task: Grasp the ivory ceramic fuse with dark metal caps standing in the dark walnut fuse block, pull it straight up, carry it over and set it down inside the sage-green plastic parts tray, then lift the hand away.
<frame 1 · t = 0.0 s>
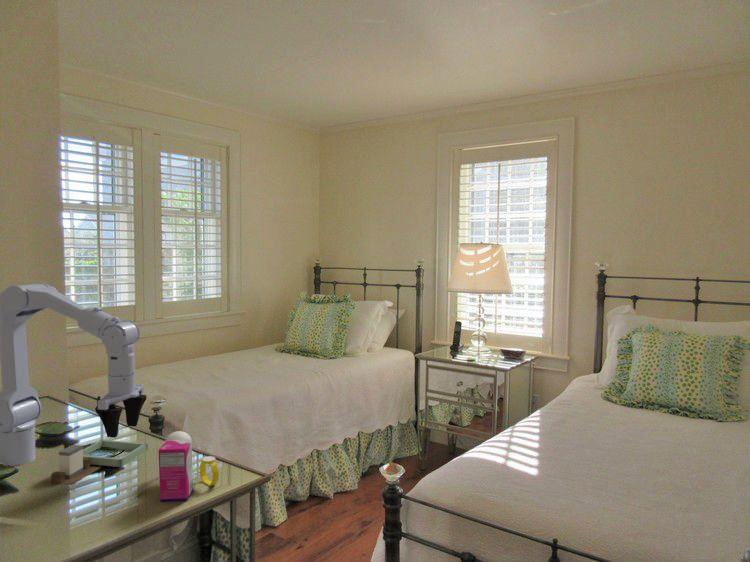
hand: (122, 431, 130), 10 cm above the table, tool pointing down, fingers open, 7 cm apart
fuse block: (71, 477, 128), on the table
fuse: (71, 474, 128), point 1 cm above the table, touching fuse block
lightbulb: (178, 479, 129), on the table
parts tray: (111, 459, 139), on the table
supplement box: (176, 496, 120), on the table
watch: (208, 484, 126), on the table
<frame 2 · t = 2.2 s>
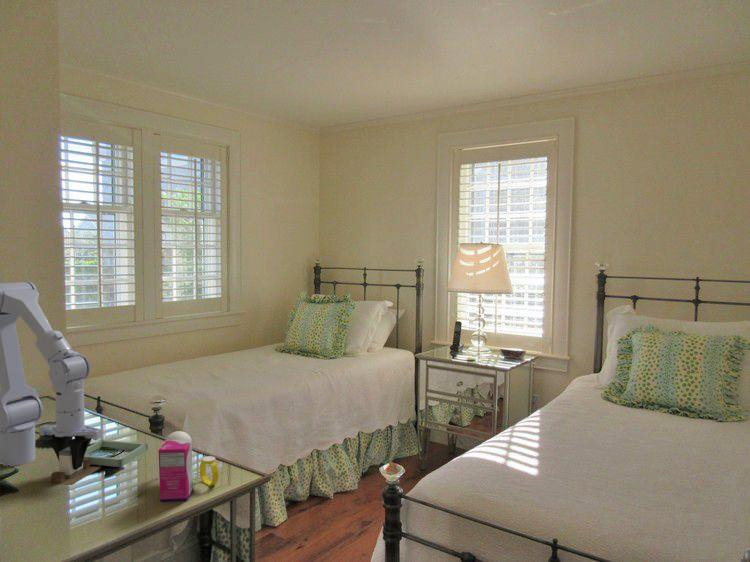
hand: (71, 467, 128), 2 cm above the table, tool pointing down, fingers closed on fuse, 3 cm apart
fuse: (71, 474, 128), point 1 cm above the table, touching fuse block, gripper
everything else where it was.
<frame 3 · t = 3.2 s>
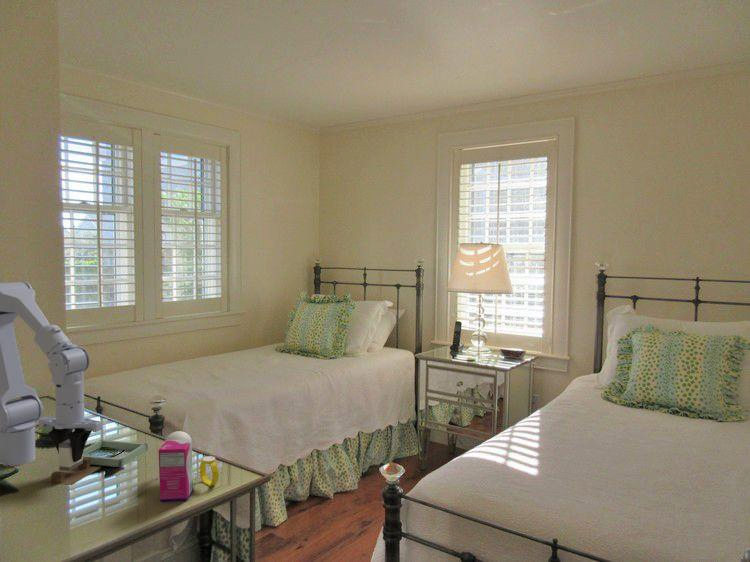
hand: (71, 459, 128), 4 cm above the table, tool pointing down, fingers closed on fuse, 3 cm apart
fuse: (71, 466, 128), point 3 cm above the table, touching gripper
everything else where it was.
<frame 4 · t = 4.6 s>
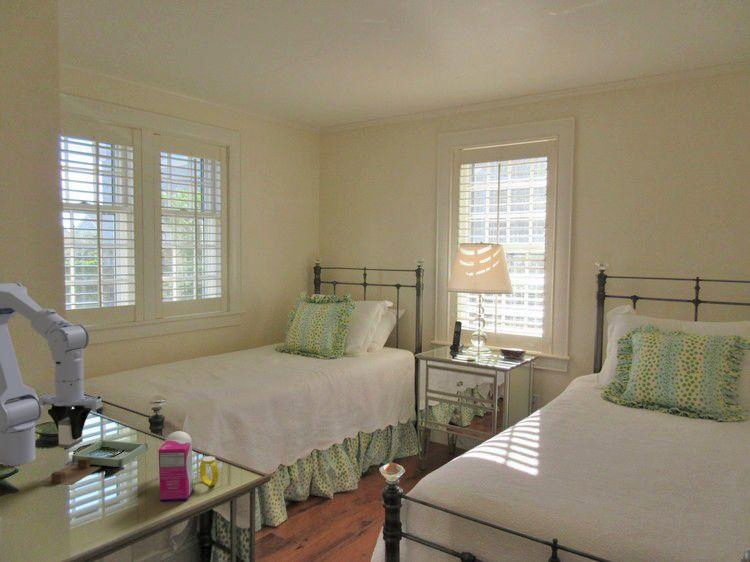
hand: (70, 437, 128), 9 cm above the table, tool pointing down, fingers closed on fuse, 3 cm apart
fuse: (70, 444, 128), point 8 cm above the table, touching gripper
everything else where it was.
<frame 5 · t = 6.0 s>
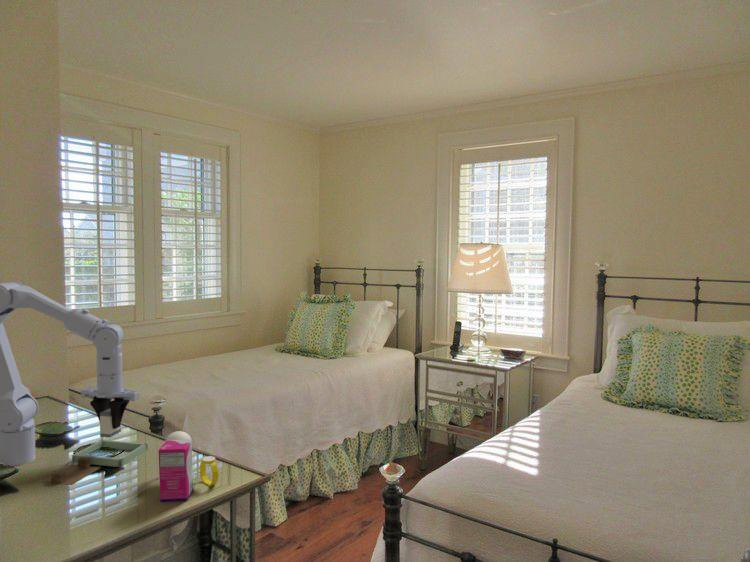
hand: (110, 427, 139), 8 cm above the table, tool pointing down, fingers closed on fuse, 3 cm apart
fuse: (110, 434, 139), point 6 cm above the table, touching gripper
everything else where it was.
when the fingers open (4 cm above the table, at t = 7.0 s): fuse drops 1 cm, resting on parts tray.
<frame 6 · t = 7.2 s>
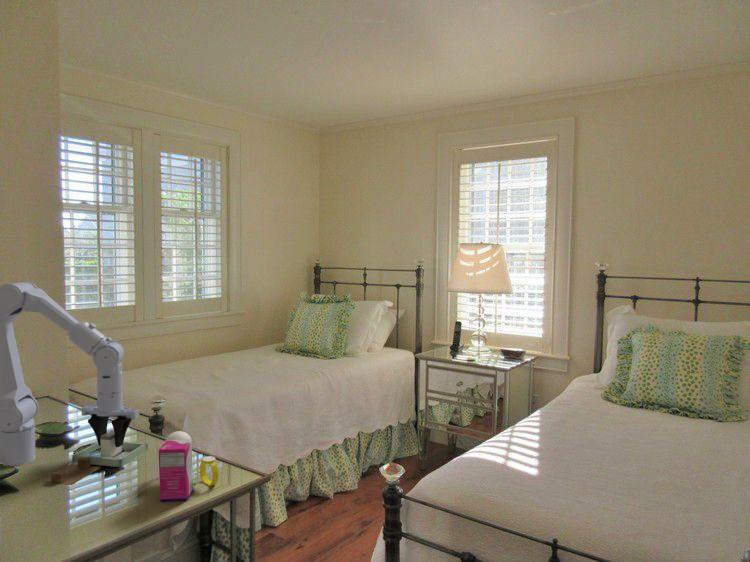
hand: (110, 445, 139), 4 cm above the table, tool pointing down, fingers open, 4 cm apart
fuse: (111, 457, 139), resting on parts tray
everything else where it was.
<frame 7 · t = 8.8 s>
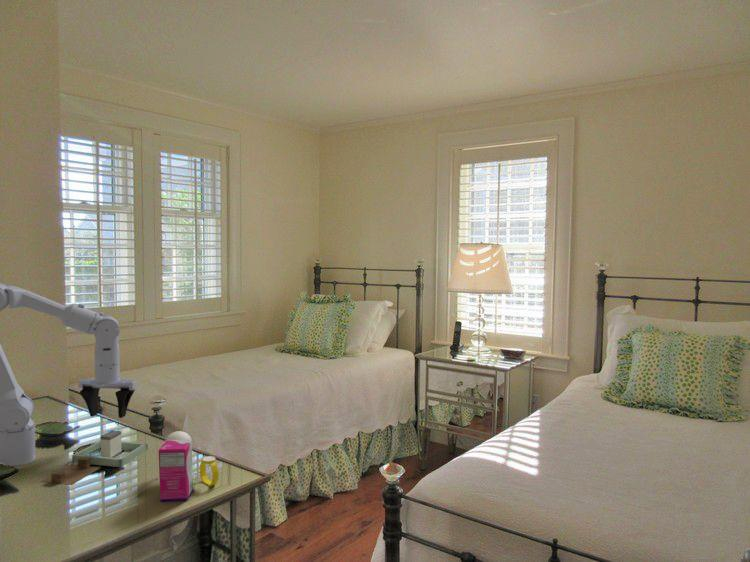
hand: (108, 416, 143), 9 cm above the table, tool pointing down, fingers open, 7 cm apart
nothing on the table moved.
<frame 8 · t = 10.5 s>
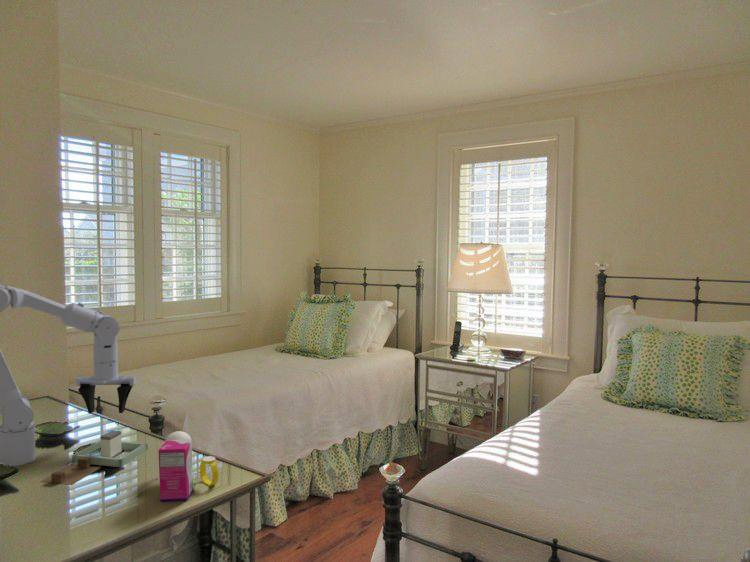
hand: (106, 412, 146), 9 cm above the table, tool pointing down, fingers open, 7 cm apart
nothing on the table moved.
at the end: fuse inside the target area on the parts tray (0.1 cm from its centre), point 0.5 cm above the parts tray's base; fuse tilted 0°; the gripper is holding nothing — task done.
